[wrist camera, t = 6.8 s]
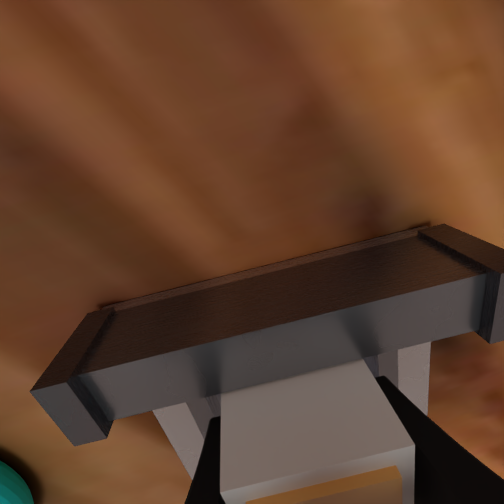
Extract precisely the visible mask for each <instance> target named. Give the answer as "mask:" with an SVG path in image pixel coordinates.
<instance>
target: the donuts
mask: <svg viewBox="0 0 504 504" xmlns="http://www.w3.org/2000/svg"><path fill="white" fill-rule="evenodd" d="M0 504H34V501H33V498H32V495H31V492H30V489H29V488H28V486H27V484H26V483H25V481H24V480H23V479H22V477H21V476H20V475H19V474H18V473H17V472H16V471H14V470H13V469H12V468H11V467H10V466H8V465H7V464H5V463H3V462H2V461H0Z"/></svg>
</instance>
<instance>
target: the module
mask: <svg viewBox="0 0 504 504" xmlns="http://www.w3.org/2000/svg"><path fill="white" fill-rule="evenodd" d="M414 474H415V444H414V442H413V441H412V439H411V437H410V436H409V434H408V433H407V431H406V429H405V428H404V426H403V424H402V423H401V421H400V419H399V418H398V416H397V414H396V413H395V411H394V409H393V408H392V406H391V404H390V403H389V401H388V399H387V398H386V396H385V395H384V393H383V391H382V390H381V388H380V386H379V385H378V383H377V381H376V380H375V378H374V376H373V375H372V373H371V371H370V370H369V368H368V366H367V365H366V363H365V361H364V360H363V358H362V359H358V360H354V361H350V362H346V363H342V364H338V365H334V366H330V367H326V368H322V369H318V370H314V371H310V372H306V373H302V374H298V375H294V376H290V377H286V378H282V379H278V380H274V381H269V382H265V383H261V384H257V385H253V386H249V387H245V388H241V389H237V390H233V391H229V392H225V393H221V443H220V494H221V496H222V498H223V499H224V501H225V503H226V504H414Z"/></svg>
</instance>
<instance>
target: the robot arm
mask: <svg viewBox="0 0 504 504" xmlns="http://www.w3.org/2000/svg"><path fill="white" fill-rule="evenodd" d="M375 380H376V381H377V383H378V385H379V386H380V388H381V390H382V391H383V393H384V395H385V396H386V398H387V399H388V401H389V403H390V404H391V406H392V408H393V409H394V411H395V413H396V414H397V416H398V418H399V419H400V421H401V423H402V424H403V426H404V428H405V429H406V431H407V433H408V434H409V436H410V437H411V439H412V441H413V442H414V444H415V474H414V503H415V504H504V480H503V479H502V478H501V477H500V476H498V475H497V474H496V473H494V472H493V471H492V470H490V469H489V468H488V467H487V466H485V465H484V464H483V463H482V462H480V461H479V460H478V459H477V458H475V457H474V456H473V455H472V454H471V453H469V452H468V451H467V450H466V449H464V448H463V447H462V446H461V445H460V444H458V443H457V442H456V441H455V440H454V439H453V438H451V437H450V436H449V435H448V434H447V433H446V432H444V431H443V430H442V429H441V428H440V427H439V426H438V425H436V424H435V423H434V422H433V421H432V420H431V419H430V418H429V417H427V416H426V415H425V414H424V413H423V412H422V411H421V410H420V409H419V408H418V407H417V406H416V405H414V404H413V403H412V402H411V401H410V400H409V399H408V398H407V397H406V396H405V395H404V394H403V393H402V392H401V391H400V390H399V389H398V388H397V387H396V386H395V385H394V384H393V383H392V382H391V381H390V380H389V379H388V378H387V377H386V376H384V375H383V376H379V377H375ZM220 443H221V416H217V417H213V418H211V419H210V421H209V424H208V429H207V433H206V437H205V440H204V444H203V448H202V451H201V455H200V458H199V461H198V465H197V468H196V471H195V474H194V477H193V480H192V483H191V486H190V489H189V493H188V496H187V498H186V501H185V504H226V503H225V501H224V499H223V498H222V496H221V494H220Z"/></svg>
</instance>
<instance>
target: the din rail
mask: <svg viewBox="0 0 504 504" xmlns="http://www.w3.org/2000/svg"><path fill="white" fill-rule="evenodd" d="M471 331H474V332H476V333H477V334H478V335H479V336H481V337H482V338H483V339H484V340H486V341H487V342H488V343H489V344H491V343H495V342H499V341H503V340H504V249H502V248H500V247H498V246H495V245H493V244H491V243H488V242H486V241H484V240H481V239H479V238H476V237H474V236H472V235H469V234H467V233H465V232H462V231H460V230H458V229H455V228H453V227H451V226H448V225H446V224H441V225H437V226H433V227H427V226H421V227H417V228H413V229H410V230H406V231H402V232H398V233H394V234H390V235H386V236H382V237H378V238H374V239H370V240H366V241H362V242H358V243H354V244H350V245H346V246H342V247H338V248H334V249H330V250H326V251H322V252H318V253H314V254H310V255H306V256H302V257H298V258H294V259H290V260H286V261H283V262H279V263H275V264H271V265H267V266H263V267H259V268H255V269H251V270H247V271H243V272H239V273H235V274H231V275H227V276H223V277H219V278H215V279H211V280H207V281H203V282H199V283H195V284H191V285H187V286H183V287H179V288H175V289H171V290H167V291H163V292H160V293H156V294H152V295H148V296H144V297H140V298H136V299H132V300H128V301H124V302H120V303H116V304H112V305H108V306H104V307H103V309H102V310H99V311H95V312H91V313H87V315H86V316H85V318H84V319H83V320H82V322H81V323H80V324H79V326H78V327H77V328H76V330H75V331H74V332H73V334H72V335H71V336H70V338H69V339H68V340H67V342H66V343H65V344H64V346H63V347H62V348H61V350H60V351H59V353H58V354H57V355H56V357H55V358H54V359H53V361H52V362H51V363H50V365H49V366H48V367H47V369H46V370H45V371H44V373H43V374H42V375H41V377H40V378H39V379H38V381H37V382H36V383H35V385H34V386H33V388H32V389H31V390H30V393H31V394H32V395H33V396H34V398H35V399H36V400H37V401H38V402H39V404H40V405H41V406H42V407H43V409H44V410H45V411H46V412H47V413H48V415H49V416H50V417H51V418H52V420H53V421H54V422H55V423H56V425H57V426H58V427H59V428H60V429H61V431H62V432H63V433H64V434H65V436H66V437H67V438H68V439H69V440H70V442H71V443H72V444H73V445H74V446H78V445H82V444H86V443H90V442H94V441H98V440H102V439H106V438H107V437H108V434H109V431H110V429H111V426H112V423H113V421H114V420H116V419H120V418H124V417H128V416H132V415H136V414H140V413H144V412H148V411H153V413H154V414H155V416H156V418H157V420H158V421H159V423H160V425H161V427H162V428H163V430H164V432H165V434H166V435H167V437H168V439H169V441H170V442H171V444H172V446H173V447H174V449H175V451H176V453H177V454H178V456H179V458H180V460H181V461H182V463H183V465H184V467H185V468H186V470H187V472H188V474H189V475H190V477H191V479H192V480H193V477H194V474H195V471H196V468H197V465H198V461H199V458H200V455H201V451H202V448H203V444H204V440H205V437H206V433H207V429H208V424H209V421H210V419H211V418H213V417H217V416H221V393H225V392H229V391H233V390H237V389H241V388H245V387H249V386H253V385H257V384H261V383H265V382H269V381H274V380H278V379H282V378H286V377H290V376H294V375H298V374H302V373H306V372H310V371H314V370H318V369H322V368H326V367H330V366H334V365H338V364H342V363H346V362H350V361H354V360H358V359H362V358H363V360H364V361H365V363H366V365H367V366H368V368H369V370H370V371H371V373H372V375H373V376H374V378H375V377H379V376H383V375H384V376H386V377H387V378H388V379H389V380H390V381H391V382H392V383H393V384H394V385H395V386H396V387H397V388H398V389H399V390H400V391H401V392H402V393H403V394H404V395H405V396H406V397H407V398H408V399H409V400H410V401H411V402H412V403H413V404H414V405H416V406H417V407H418V408H419V409H420V410H421V411H422V412H423V413H424V414H425V415H426V416H427V411H428V389H429V368H430V346H431V341H435V340H439V339H443V338H447V337H451V336H455V335H459V334H463V333H467V332H471Z"/></svg>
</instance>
